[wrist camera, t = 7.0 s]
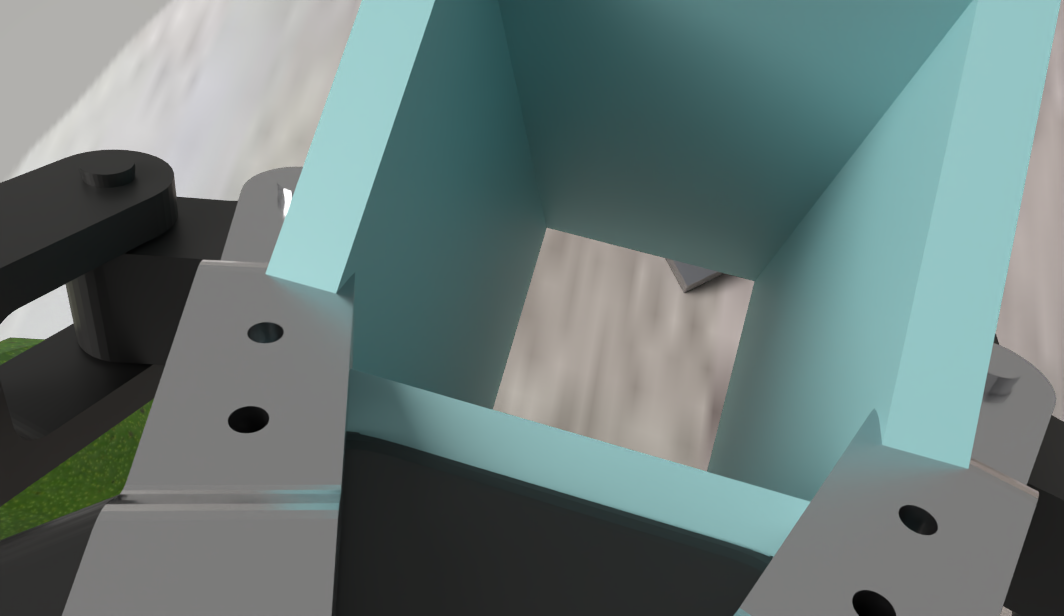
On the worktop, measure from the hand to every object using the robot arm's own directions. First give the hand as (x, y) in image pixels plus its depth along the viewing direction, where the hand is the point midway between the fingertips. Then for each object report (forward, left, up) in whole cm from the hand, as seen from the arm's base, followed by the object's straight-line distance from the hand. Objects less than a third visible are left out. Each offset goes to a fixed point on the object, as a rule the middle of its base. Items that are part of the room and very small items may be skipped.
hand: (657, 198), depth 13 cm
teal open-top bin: (+1, +1, -4) cm, 5 cm away
